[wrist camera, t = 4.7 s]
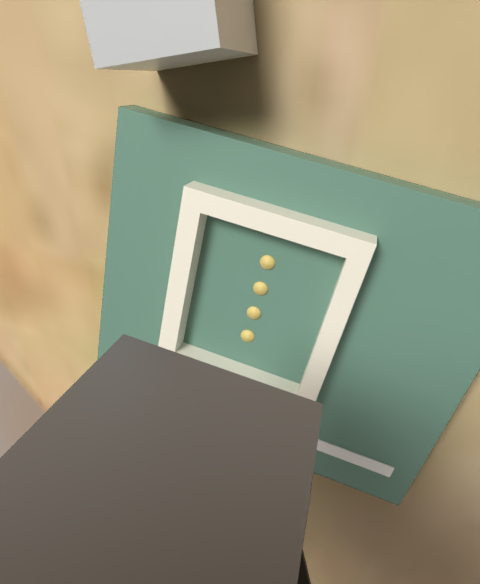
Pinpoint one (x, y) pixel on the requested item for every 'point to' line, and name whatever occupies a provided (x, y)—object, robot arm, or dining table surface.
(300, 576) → the robot arm
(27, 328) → the dining table surface
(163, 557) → the plug
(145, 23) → the plug
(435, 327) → the board
